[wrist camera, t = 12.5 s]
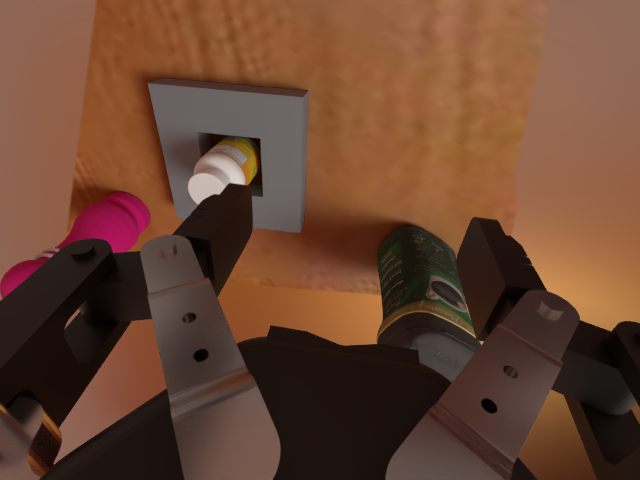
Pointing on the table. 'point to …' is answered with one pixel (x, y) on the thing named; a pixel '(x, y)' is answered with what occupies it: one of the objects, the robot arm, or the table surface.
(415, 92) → the table surface
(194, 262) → the robot arm
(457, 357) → the coffee jar
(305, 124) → the socket block
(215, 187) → the supplement bottle
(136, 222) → the pepper mill
